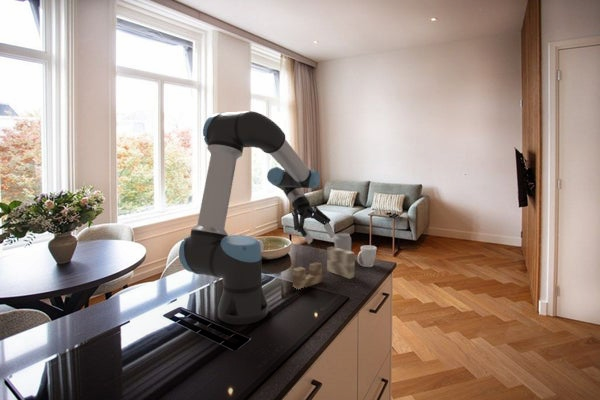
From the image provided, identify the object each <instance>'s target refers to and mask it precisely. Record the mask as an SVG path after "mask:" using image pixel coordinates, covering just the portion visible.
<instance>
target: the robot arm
mask: <svg viewBox="0 0 600 400" xmlns="http://www.w3.org/2000/svg"><path fill="white" fill-rule="evenodd" d="M202 136H203V139H204V143H205V144H206V145H207V148H206V149H207V150H208V151H209V153H210V157H209V162H208V169H207V173H206V177H205V178H206V179H205V184H204V189H203V194H202V197H201V198H202V199H201V204H200V209H199V214H198V219H197V224H196V225H195V226H194V227H193V228H191V230H190V234H189V235H188V236H186V237H184V239H183V240H182V241H181V243H180V245H179V249H178V258H179V261H180V262H179V263H180V264H181V265H182V267H183V269H184V270H186V271H187V272H189V273H194V274H196V275H204V276H209V277H215V278H220V279H222V294H221V296H220V299H219V303H218V306H217V315H218V316H217V317H218V318H219V320H220V321H221V322H223V323H226V324H230V325H236V326H237V325H249V324H253V323H256V322H259V321H260V320H263V319H265V318H266V317H267V316H268V313H269V303H268V300H267V298H266V295H265V292H264V290H263V284H262V280H263V279H262V277H263V275H262V269H263V268H262V257H263V253H262V252H261V247H260V243H259V242H258V241H257V240H258V239H256V238H255V237H252V236H250V235H246V234H245V235H243V234H230V235H229V234H228V232H227V231H226V229H225V228H226V221H227V216H228V211H229V210H228V209H229V205H230V200H231V193H232V188H233V183H234V182H233V181H234V177H235V171H236V164H237V160H238V159H239V158H241V157H242V156H243V151H244V149H245V148H257V149H260V150H261V151H262V152H263V153H265V154H269V155H270V156H271V157H272V158H273V159H274V160H275V161H276V162H277V164H279V165H280V167H278V166H273V167H271V168H270V169H269V170H268V172H267V175H266V179H267V181H268V182H269V183H270V184H272V185H273V186H275V187H276V188H279V190H281V191H283V193H284V195H285V197H286V198H287V200H288V201H289V203H290V204H291V207H292V208H293V210H292V211H291V215H292V218H293V219H292V221H293V229H294V231H297V233H300V234H301V236H302V237H304V239H305V241H306V243H307V244H308V245H310V244H311V243H312V242H313V241H314V240H313V238H312V236H311V234H310V233H309V230H308V229H307V227H304V226H305V219H313V220H315V221H317V222H318V223H320V224H321V225H323V228H324V229H325V231H326V232H327V234H328V236H329V238H330V239H333V238H335V236H336V234H335V231H334V230H333V228H332V226H331V224H330V222H331V218H329V216H327V215H326V214H325V213H323V211H321V210H320V209H319V208H318V207H317V206H316V205H314V206H313V207H312V206H311V205H310V204H311V203H310V200H309V199H308V197H307V196H306V194H305V193H304V191H303V190H302V189H316V188H317V187H319V185H320V182H321V175H320V172H319V171H318V170H315V169H310V168H309V167H308V166H307V165H306V163H305V162H304V161H303V159H301V157H300V156H299V155H298V153H297V151H295V149H294V148H293V147H292V146H291V144H289V142H288V141H287V139H286V134H285V132H284V131H283V129H282V128H281V127H280V126H279V125H278V124H277V123H276V122H275V121H273V120H272V119H270V118H268V117H267V116H266V115H264V114H262V113H259V112H257V111H251V110H247V111H245V110H244V111H237V112H236V111H235V112H234V111H232V112H224V111H223V112H219V113H214V114H212V115H210V116H209V117H208V118H207V119H206V120H205V122H204V125H203V128H202ZM281 167H282V168H281Z"/></svg>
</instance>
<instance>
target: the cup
mask: <svg viewBox="0 0 600 400" xmlns="http://www.w3.org/2000/svg"><path fill="white" fill-rule="evenodd" d="M377 250H378V247H377V246H375V245H369V244H368V245H367V244H366V245H362V246H360V251H359V252H358V254H357V259H356V260H357V263H358V265H360V266H362V267H363V268H364V267H366V268H371V267H373V266H374V263H375V260H376V253H377ZM360 256H361V260H362V263H361V262H360Z"/></svg>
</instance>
